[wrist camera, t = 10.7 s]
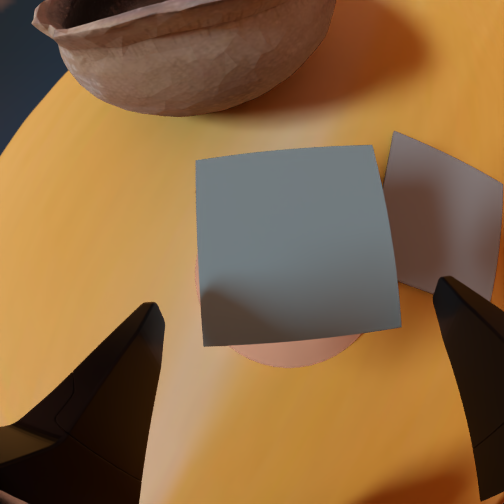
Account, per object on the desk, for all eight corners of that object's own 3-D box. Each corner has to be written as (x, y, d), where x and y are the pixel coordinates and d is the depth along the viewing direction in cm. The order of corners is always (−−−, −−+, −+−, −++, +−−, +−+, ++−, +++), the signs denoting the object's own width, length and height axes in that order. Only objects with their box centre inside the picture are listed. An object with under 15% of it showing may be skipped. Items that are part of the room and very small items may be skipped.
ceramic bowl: (91, 75, 28) (26, -6, 13) (243, -9, 28) (225, -101, 13) (171, 212, 23) (46, 101, 8) (376, 83, 23) (415, -48, 9)
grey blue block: (346, 318, 19) (401, 327, 10) (242, 327, 20) (203, 346, 10) (335, 216, 21) (372, 145, 11) (234, 225, 21) (195, 160, 12)
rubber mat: (484, 313, 19) (487, 313, 19) (361, 268, 21) (362, 267, 20) (500, 185, 21) (503, 184, 20) (393, 133, 22) (394, 130, 22)
